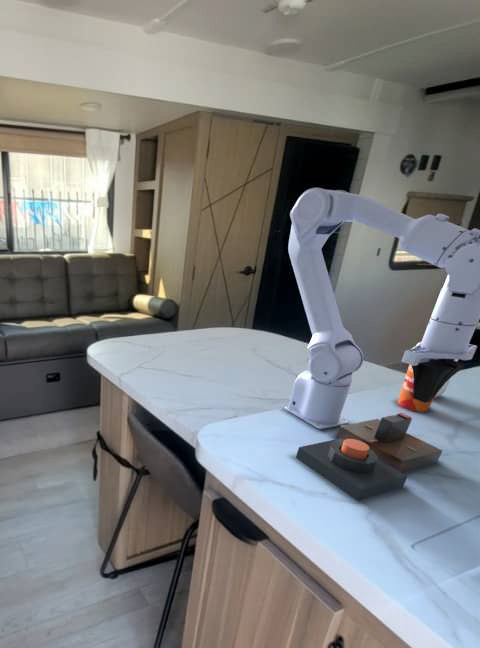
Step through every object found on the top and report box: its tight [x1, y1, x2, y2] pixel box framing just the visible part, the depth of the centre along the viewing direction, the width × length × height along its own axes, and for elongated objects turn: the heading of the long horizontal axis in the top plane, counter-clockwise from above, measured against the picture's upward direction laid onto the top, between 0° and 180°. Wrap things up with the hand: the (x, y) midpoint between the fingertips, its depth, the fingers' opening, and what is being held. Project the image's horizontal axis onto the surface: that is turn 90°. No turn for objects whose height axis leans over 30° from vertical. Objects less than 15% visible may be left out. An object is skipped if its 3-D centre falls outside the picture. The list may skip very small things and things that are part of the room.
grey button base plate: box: [295, 438, 408, 502], centre depth 66 cm, size 12×10×4 cm
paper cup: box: [397, 341, 455, 413], centre depth 88 cm, size 8×8×14 cm
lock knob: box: [375, 412, 413, 442], centre depth 72 cm, size 5×2×4 cm, turn 110°
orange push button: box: [341, 439, 370, 459], centre depth 65 cm, size 4×4×2 cm
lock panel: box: [336, 418, 443, 473], centre depth 73 cm, size 12×10×3 cm
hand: (421, 399), depth 69 cm, fingers closed
